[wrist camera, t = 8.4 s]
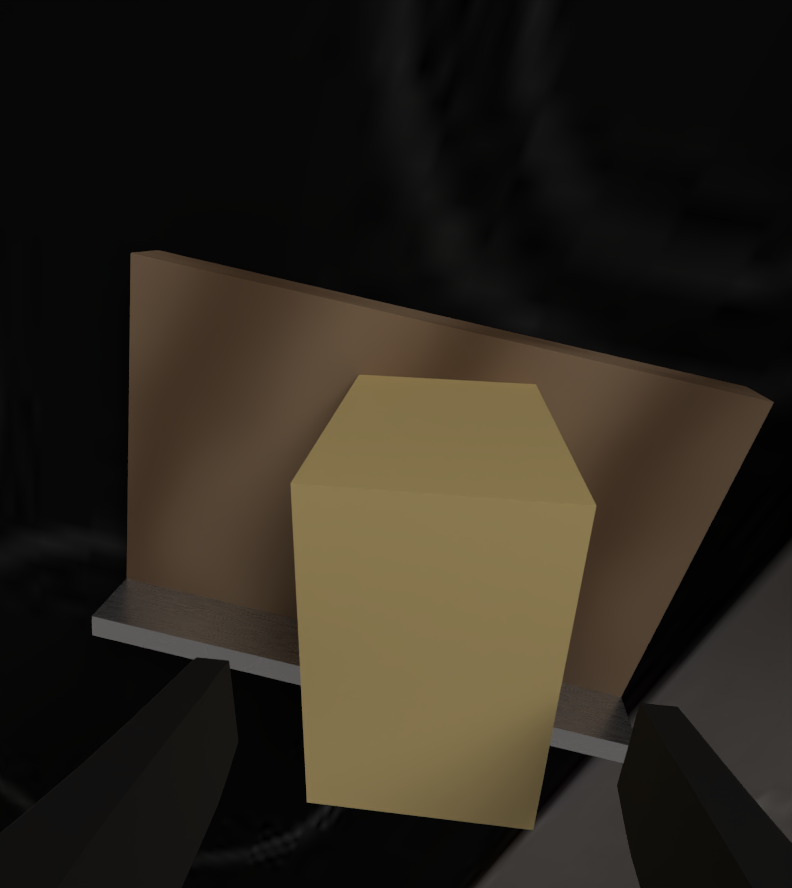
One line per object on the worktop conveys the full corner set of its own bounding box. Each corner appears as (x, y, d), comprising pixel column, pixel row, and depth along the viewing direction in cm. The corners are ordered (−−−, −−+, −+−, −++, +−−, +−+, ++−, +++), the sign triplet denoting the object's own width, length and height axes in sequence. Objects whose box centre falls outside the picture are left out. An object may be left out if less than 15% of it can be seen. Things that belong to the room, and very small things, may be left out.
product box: (504, 619, 18) (531, 837, 12) (358, 606, 19) (307, 809, 12) (536, 384, 15) (596, 505, 9) (359, 374, 15) (290, 483, 9)
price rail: (620, 697, 19) (639, 748, 17) (609, 718, 19) (626, 770, 18) (126, 578, 19) (91, 616, 17) (126, 602, 20) (92, 642, 18)
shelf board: (746, 386, 16) (773, 402, 15) (602, 680, 21) (612, 713, 19) (158, 250, 16) (130, 253, 15) (148, 571, 21) (126, 596, 20)
